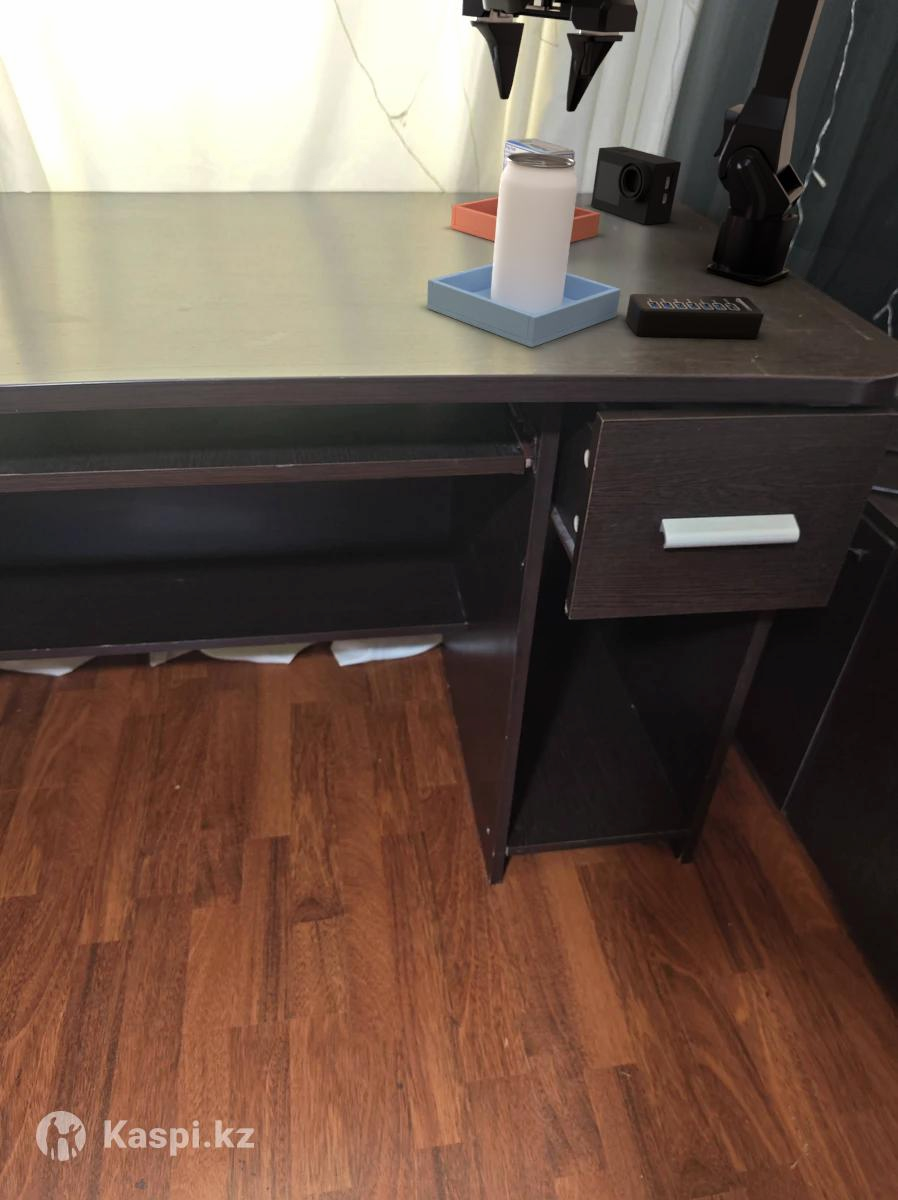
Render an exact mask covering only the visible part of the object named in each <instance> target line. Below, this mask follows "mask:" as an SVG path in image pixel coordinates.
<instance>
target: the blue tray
mask: <svg viewBox="0 0 898 1200" xmlns="http://www.w3.org/2000/svg"><path fill="white" fill-rule="evenodd" d="M492 270H493V262H492V263H488V264H484V265H480V266H477V267H474V268H469V269H465V270H462V271H457V272H454V273H449V274H445V275H442V276H439V277H434V278H431V279H428V280H427V298H426V309H428V310H431V311H434V312H436V313H439V314H440V315H441V314H442V315H443V316H446V317H449V318H452V319H455V320H457V321H460V322H463V323H465V324H468V325H470V326H473V327H476V328H479V329H481V330H484V331H486V332H489V333H491V334H494V335H497V336H499V337H501V338H505V339H507V340H510V341H513V342H516V343H517V344H520V345H523V346H526V347H529V348H535V347H537V346H540V345H544V344H545V343H549V342H552V341H554V340H557V339H560V338H562V337H564V336H568V335H571V334H573V333H576V332H578V331H582V330H584V329H586V328H589V327H592V326H595V325H597V324H601V323H603V322H607V321H608V320H611V319H615V318H616V317H617V314H618V308H619V303H620V297H621V291H622V289H621V288H619V287H615V286H613V285H609V284H606V283H603V282H599V281H596V280H593V279H590V278H586V277H584V276H580V275H577V274H574V273H570V272H567V271H566V278H565V285H564V293H563V299H562V305H561V306H558V307H555V308H552V309H549V310H546V311H543V312H540V313H537V314H534V315H533V314H531V313H528V312H525V311H523V310H520V309H517V308H514V307H511V306H508V305H506V304H503V303H500V302H497V301H494V300H491V283H492Z"/></svg>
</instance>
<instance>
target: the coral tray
mask: <svg viewBox="0 0 898 1200" xmlns="http://www.w3.org/2000/svg"><path fill="white" fill-rule="evenodd" d="M498 197H499V196H496V197H490V198H489V197H488V198H485V199H480V200H474V201H469V202H464V203H459V204H454V205H452V206H451V219H450V220H451V221H450V223H451V224H450V229H452V230H455V231H459V232H462V233H464V234H468V235H472V236H475V237H478V238H481V239H485V240H488V241H491V242H494V243H495V233H496V220H497V209H498ZM600 219H601V212H597V211H594V210H590V209H586V208H583V207H579V206H575V210H574V218H573V226H572V233H571V241H570V244H571V243H575V242H578V241H583V240H586V239H590V238H593V237H598V233H599V232H598V231H599V226H600Z"/></svg>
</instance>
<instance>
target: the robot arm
mask: <svg viewBox="0 0 898 1200" xmlns="http://www.w3.org/2000/svg"><path fill="white" fill-rule="evenodd" d="M461 4H462V5H461V6H462V7H461V8H462V9H461V16H463V17H471V18H474V20H470V21H469V24H470V25H471V27H472V28H476V29H477V30H478V31H479V33H480V35H482V37H483V38H484V40H485V41H486V45H487V48H488V51H489V54H490V58H491V62H492V67H493V71H494V76H495V83H496V86H497V89H498V90H497V91H498V95H499V99H500V100H503V101H504V100H509V98H510V95H511V93H512V89H513V85H514V81H515V77H516V70H517V64H518V59H519V54H520V50H521V44H522V40H523V39H522V38H523V34H524V28H525V23H524V22H518V21H513V20H514V19H518V18H519V17H520V16H524V17H530V18H531V17H532V18H541V19H549V20H557V21H567V22H568V21H569V22H571V23H572V26H573V28H574V29H575V30H578V31H579V32H566V38H567V41H568V45H569V47H570V51H571V56H570V64H569V73H568V81H567V89H566V103H565V104H566V106H565V107H566V108H565V109H566V112H568V113H573V112H575V111H576V110H577V108H578V107H579V104H580V102H581V100H582V99H583V97H584V95H585V93H586V91H587V89H588V87H589V86H590V84H591V82H592V80H593V78H594V76H595V74H596V73H597V71H598V69H599V67H600V66H601V64H602V63H603V61H604V60H605V58H606V57H607V55H608V54H609V52H610V51H611V49H612V48H613V46H614V45H615V43H616V42H617V43H618V42H623V39H624V35H623V34H620V33H635V32H636V27H637V21H638V15H639V12H638V8H637V5H636V2H635V0H540V5H537V4H535V0H462V3H461ZM554 4H559V5H554ZM824 4H825V0H776V3H775V7H774V10H773V15H772V18H771V20H770V21H771V22H770V25H769V29H768V33H767V37H766V39H765V44H764V48H763V50H762V54H761V58H760V62H759V66H758V68H757V73H756V76H755V80H754V84H753V87H752V89H751V91H750V94H749V95H748V96H747V99H746V101H745V103H744V104H743V103H740V104H739V103H738V104H737V105H734V106H732V107H730V108H727V109H725V112H724V118H723V126H722V134H721V139H720V141H719V144H718V146H717V148H716V149H715V151H714V152H713V154H712V157H713V158H717V157H719V159H718V162H717V175H718V176H717V178H718V180H719V181H720V183H721V185H722V186H723V189H725V190H726V191H727V192H728V195H729V196H728V197H729V205H730V206H728V207H727V210H726V211H727V212H726V216H725V219H724V220H722V221H720V223H719V228H718V231H717V236H716V240H715V244H714V250H713V253H712V257H711V260H712V263H711V264H708V265H707V266H706V271H708V272H710V273H714V274H717V275H721V276H724V277H729V278H732V279H735V280H739V281H743V282H746V283H750V284H753V285H756V286H764V285H766V284H768V283H771V282H774V281H776V280H779V279H781V278H783V277H787V276H788V275H789V273H790V270H789V269H788V268H784V267H785V264H786V260H787V257H788V254H789V249H790V245H791V243H792V239H793V235H794V233H795V229H796V228H795V227H796V225H797V220H798V217H799V215H798V214H794V213H791V212H790V210H791V209H792V208H794V207H795V205H796V204H797V203H798V201H799V199H800V198H801V196H802V195H803V194H804V191H805V186H804V184H803V182H802V181H801V179H800V176H799V175H798V173H797V172H796V170H795V169H794V166H793V165H792V164H791V162H790V161H791V156H792V150H793V143H794V135H795V129H796V117H797V102H798V91H799V86H800V84H801V80H802V77H803V73H804V69H805V67H806V63H807V60H808V56H809V53H810V50H811V47H812V43H813V41H814V37H815V34H816V30H817V27H818V24H819V20H820V16H821V15H822V14H821V13H822V10H823V7H824Z"/></svg>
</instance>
